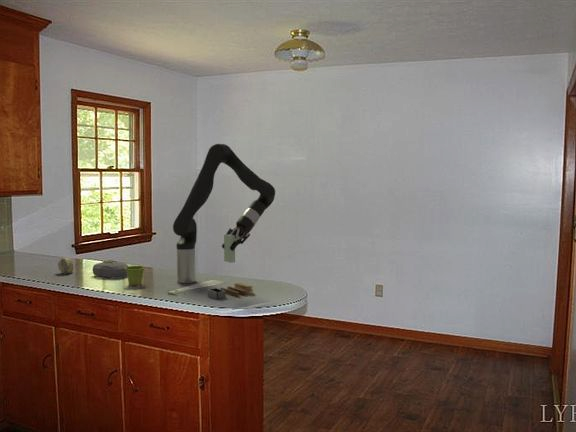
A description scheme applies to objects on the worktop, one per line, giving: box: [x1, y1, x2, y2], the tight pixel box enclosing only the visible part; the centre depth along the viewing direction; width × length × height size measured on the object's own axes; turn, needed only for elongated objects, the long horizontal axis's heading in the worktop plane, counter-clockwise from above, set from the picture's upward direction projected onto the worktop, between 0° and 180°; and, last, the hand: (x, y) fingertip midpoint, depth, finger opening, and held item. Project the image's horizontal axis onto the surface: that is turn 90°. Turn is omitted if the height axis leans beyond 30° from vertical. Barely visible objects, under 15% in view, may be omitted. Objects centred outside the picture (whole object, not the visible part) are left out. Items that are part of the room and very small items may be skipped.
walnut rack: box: [220, 285, 256, 299], centre depth 236 cm, size 10×14×3 cm
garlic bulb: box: [57, 256, 75, 275], centre depth 287 cm, size 9×8×10 cm
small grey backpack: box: [92, 259, 129, 279], centre depth 279 cm, size 15×8×20 cm
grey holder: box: [206, 287, 227, 300], centre depth 228 cm, size 5×8×4 cm, turn 42°
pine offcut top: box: [233, 282, 253, 291], centre depth 237 cm, size 3×10×2 cm, turn 42°
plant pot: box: [125, 265, 145, 287], centre depth 258 cm, size 9×9×9 cm
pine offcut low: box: [231, 285, 254, 296], centre depth 237 cm, size 4×12×2 cm, turn 42°
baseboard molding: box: [167, 279, 227, 296], centre depth 249 cm, size 31×3×12 cm
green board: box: [223, 233, 236, 264], centre depth 231 cm, size 2×6×12 cm, turn 42°
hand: (227, 248), depth 231 cm, fingers closed on green board, 5 cm apart
